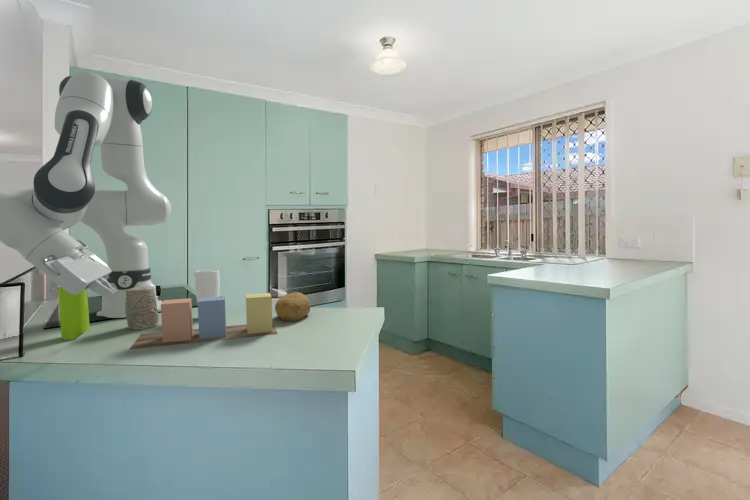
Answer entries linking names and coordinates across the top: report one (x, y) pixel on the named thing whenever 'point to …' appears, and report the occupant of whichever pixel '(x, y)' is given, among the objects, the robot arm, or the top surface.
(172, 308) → the terracotta block
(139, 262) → the robot arm
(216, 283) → the white rectangular block
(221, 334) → the slate block
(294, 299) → the potato
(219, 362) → the top surface
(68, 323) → the soap dispenser
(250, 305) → the ochre block
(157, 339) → the walnut board
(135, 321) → the carving
